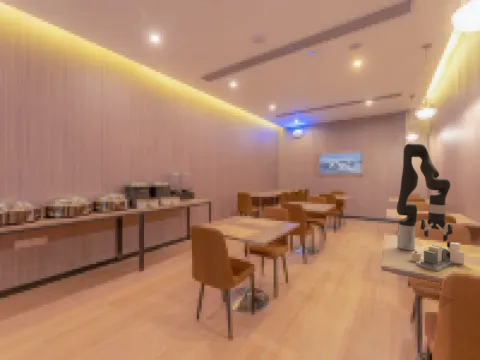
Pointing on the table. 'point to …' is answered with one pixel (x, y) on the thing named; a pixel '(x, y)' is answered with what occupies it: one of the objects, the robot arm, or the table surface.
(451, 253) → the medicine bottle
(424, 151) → the robot arm
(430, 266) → the board
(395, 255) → the table surface
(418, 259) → the block
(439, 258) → the block
